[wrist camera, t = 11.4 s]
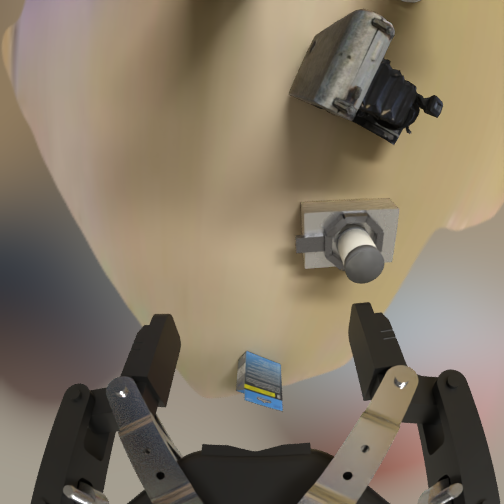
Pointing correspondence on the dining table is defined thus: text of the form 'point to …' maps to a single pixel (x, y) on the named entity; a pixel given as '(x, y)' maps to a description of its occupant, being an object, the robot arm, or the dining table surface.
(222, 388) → the dining table surface
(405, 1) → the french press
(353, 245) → the cream grey cylinder
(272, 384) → the blue printed box
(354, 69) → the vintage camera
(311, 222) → the octagonal ring slab
